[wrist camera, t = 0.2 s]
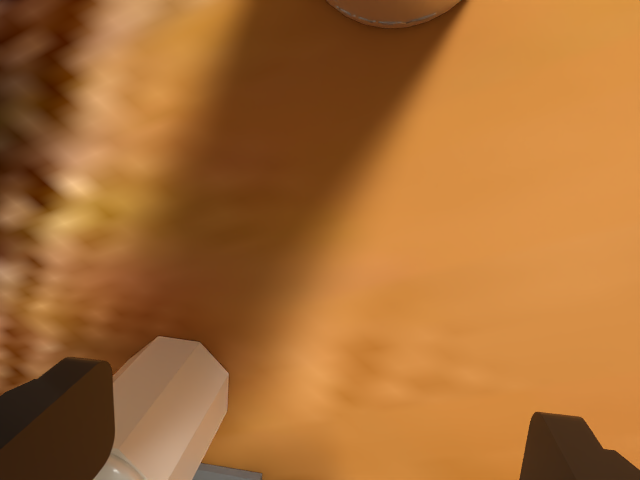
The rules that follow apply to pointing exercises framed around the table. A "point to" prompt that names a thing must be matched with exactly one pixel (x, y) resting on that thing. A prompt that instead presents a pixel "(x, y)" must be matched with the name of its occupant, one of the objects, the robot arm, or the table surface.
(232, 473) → the slate mat
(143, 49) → the table surface
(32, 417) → the robot arm
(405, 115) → the table surface
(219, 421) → the cup
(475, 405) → the table surface
